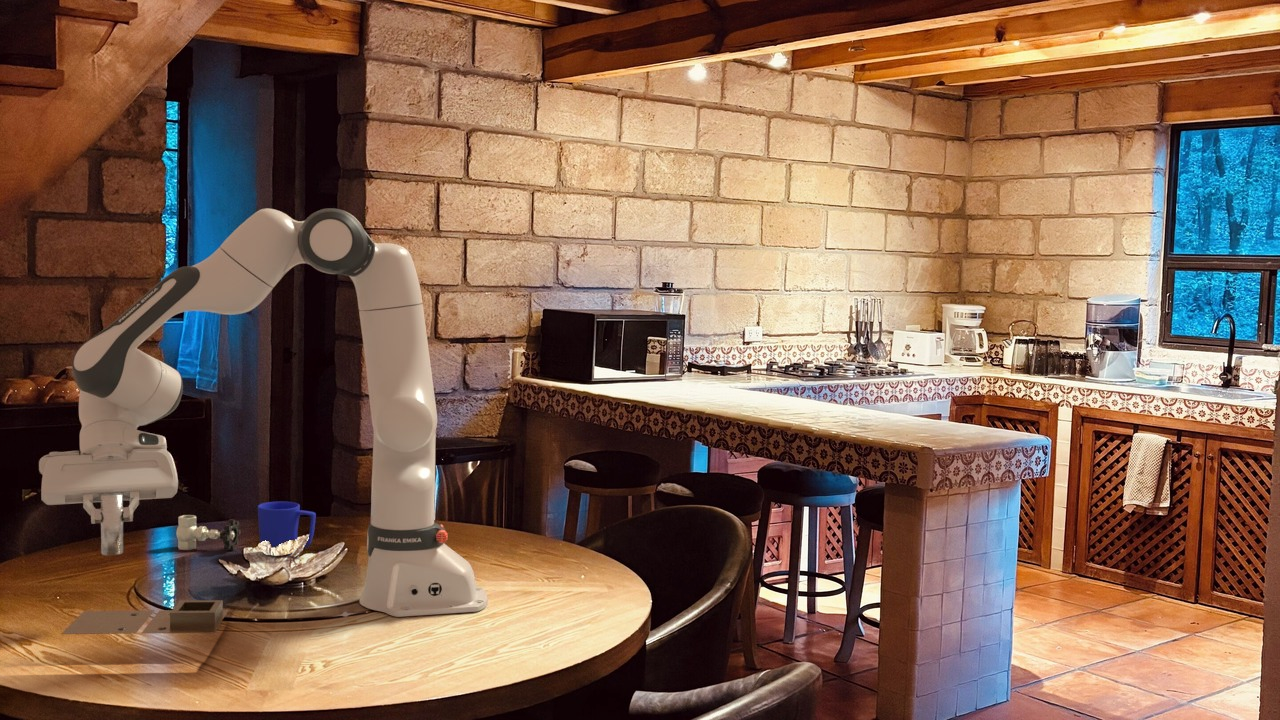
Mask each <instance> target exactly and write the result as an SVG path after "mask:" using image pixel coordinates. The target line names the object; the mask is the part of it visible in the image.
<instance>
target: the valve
mask: <svg viewBox="0 0 1280 720" xmlns="http://www.w3.org/2000/svg"><path fill="white" fill-rule="evenodd" d="M229 523H230V525H229ZM239 526H240V521H239V520H235V519H228V525H227V524H225V525H224V527H223V529H222V530H221V531H219V530H218V529H210V530H209V529H208V528H207V526H205V525H204V526H203V525H200V526H199V527H198V526H197V516H196V515H194V514H183V515H180V516H178V526H177V528H176V532H175V533H176V534H175V535H176V537H177V540H178V541H177V543H178V544H177V545H178V546H177V548H178V550H180V551H181V550H183V551H191V550H194V549H195V550H196V549H197V541H199V542H205V541H206V539H210V540H211V539H212V540H217V539H218V538H219V539H220V540H222V542H223V545H224V546H223V549H224V550H228V551H229V552H235V550H236V547H235V546H239V544H240V542H239V539H238V536H240V535H241V529H238V527H239Z"/></svg>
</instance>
